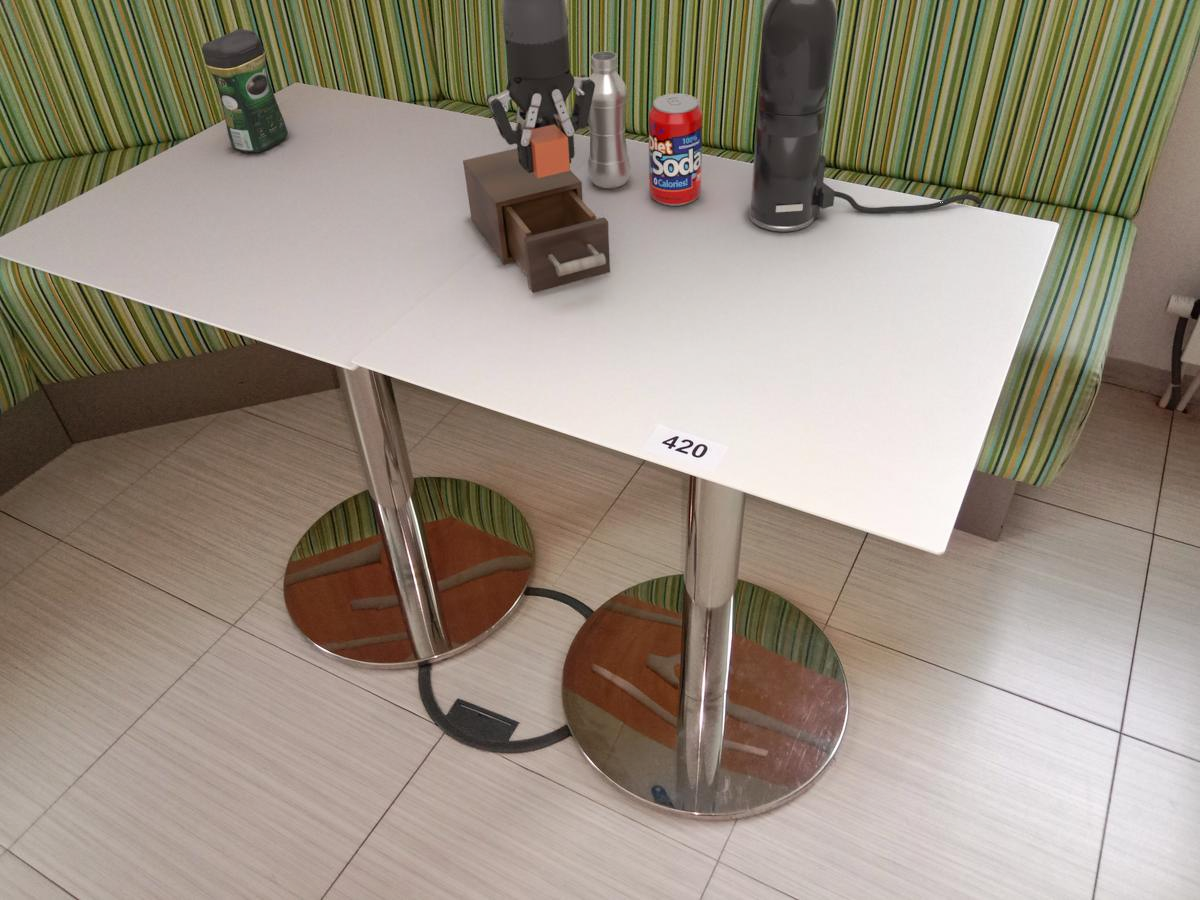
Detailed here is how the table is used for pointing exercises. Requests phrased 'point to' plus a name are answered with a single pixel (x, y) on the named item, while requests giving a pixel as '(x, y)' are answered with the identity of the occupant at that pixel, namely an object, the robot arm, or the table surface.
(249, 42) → the coffee jar
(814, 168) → the robot arm
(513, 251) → the drawer
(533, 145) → the block
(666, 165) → the soda can
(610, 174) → the silver metal bottle
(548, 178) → the cabinet
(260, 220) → the table surface
